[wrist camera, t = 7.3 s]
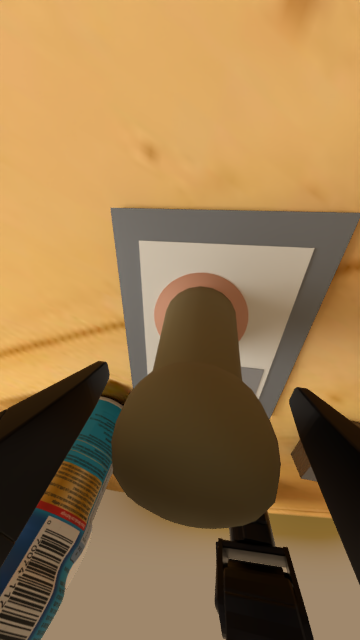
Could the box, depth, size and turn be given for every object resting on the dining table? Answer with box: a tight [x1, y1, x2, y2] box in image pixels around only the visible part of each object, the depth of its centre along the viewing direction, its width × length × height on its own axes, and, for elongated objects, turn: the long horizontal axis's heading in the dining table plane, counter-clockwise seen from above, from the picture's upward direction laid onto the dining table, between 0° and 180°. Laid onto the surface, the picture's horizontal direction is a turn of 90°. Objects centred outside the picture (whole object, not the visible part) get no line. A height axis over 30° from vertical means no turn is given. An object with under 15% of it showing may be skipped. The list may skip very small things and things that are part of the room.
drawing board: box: [111, 208, 360, 419], centre depth 15 cm, size 20×16×1 cm
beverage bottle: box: [0, 396, 123, 640], centre depth 15 cm, size 8×8×20 cm
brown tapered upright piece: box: [111, 286, 281, 529], centre depth 9 cm, size 6×6×11 cm
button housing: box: [291, 421, 360, 481], centre depth 18 cm, size 8×8×2 cm
